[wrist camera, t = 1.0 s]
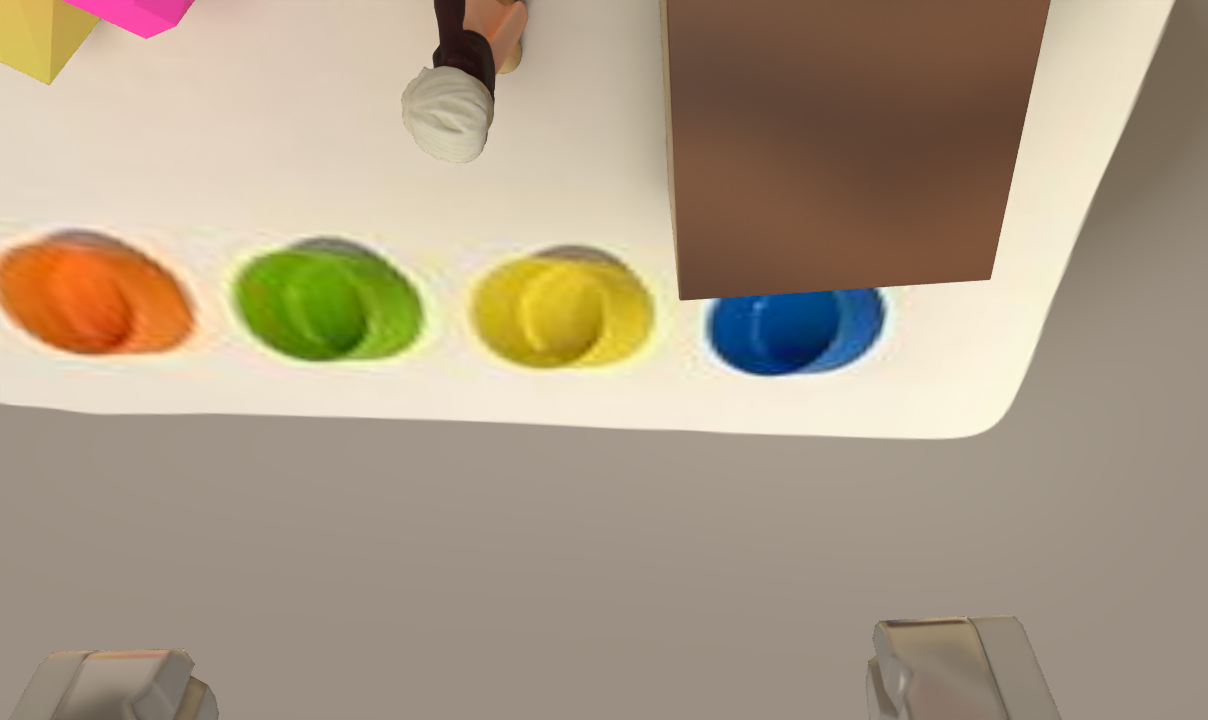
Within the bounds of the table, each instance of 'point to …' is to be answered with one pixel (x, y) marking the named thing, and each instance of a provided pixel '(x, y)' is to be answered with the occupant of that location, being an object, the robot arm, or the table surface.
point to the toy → (73, 28)
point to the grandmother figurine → (463, 76)
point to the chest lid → (844, 139)
